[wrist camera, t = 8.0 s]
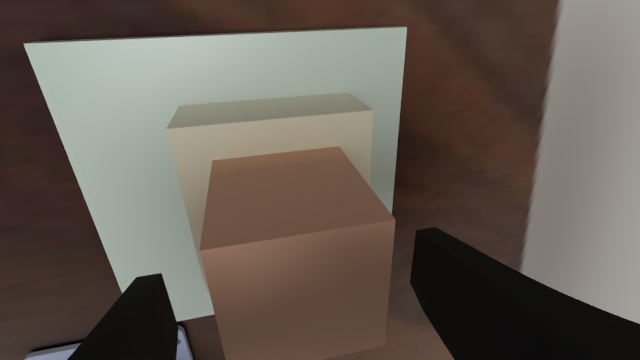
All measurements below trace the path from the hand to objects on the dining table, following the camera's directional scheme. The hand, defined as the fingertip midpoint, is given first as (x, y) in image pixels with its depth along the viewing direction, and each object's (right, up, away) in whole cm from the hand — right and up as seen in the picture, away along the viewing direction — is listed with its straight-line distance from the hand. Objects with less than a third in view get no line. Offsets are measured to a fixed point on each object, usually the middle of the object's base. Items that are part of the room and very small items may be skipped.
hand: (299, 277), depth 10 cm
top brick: (-1, +2, +3) cm, 4 cm away
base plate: (-3, +3, +7) cm, 8 cm away
